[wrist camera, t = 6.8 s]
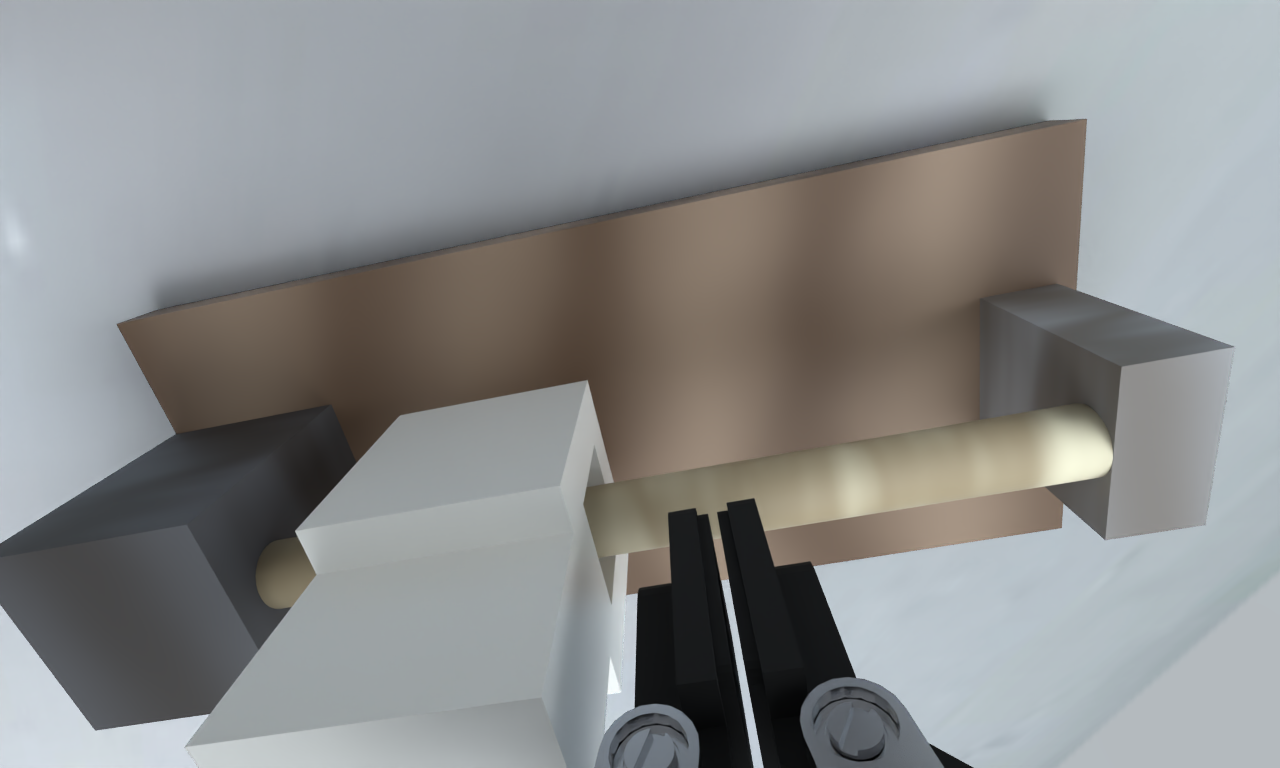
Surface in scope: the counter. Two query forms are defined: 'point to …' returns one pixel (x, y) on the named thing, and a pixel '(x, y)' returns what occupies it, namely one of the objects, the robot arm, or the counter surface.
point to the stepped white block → (444, 604)
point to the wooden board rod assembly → (647, 399)
